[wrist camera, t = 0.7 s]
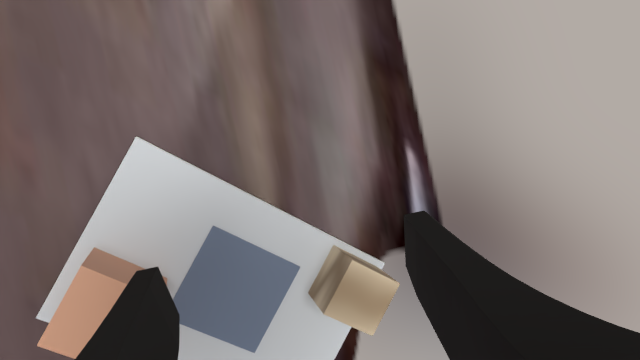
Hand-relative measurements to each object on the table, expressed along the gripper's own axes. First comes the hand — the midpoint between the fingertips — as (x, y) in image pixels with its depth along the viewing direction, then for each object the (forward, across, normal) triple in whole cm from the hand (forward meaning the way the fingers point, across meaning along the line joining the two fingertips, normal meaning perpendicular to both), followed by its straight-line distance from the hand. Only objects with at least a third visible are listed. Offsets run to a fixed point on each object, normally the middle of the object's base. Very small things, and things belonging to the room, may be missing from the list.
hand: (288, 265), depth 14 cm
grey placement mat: (+14, +5, +14) cm, 21 cm away
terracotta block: (+13, +12, +12) cm, 22 cm away
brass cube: (+15, -3, +16) cm, 22 cm away
